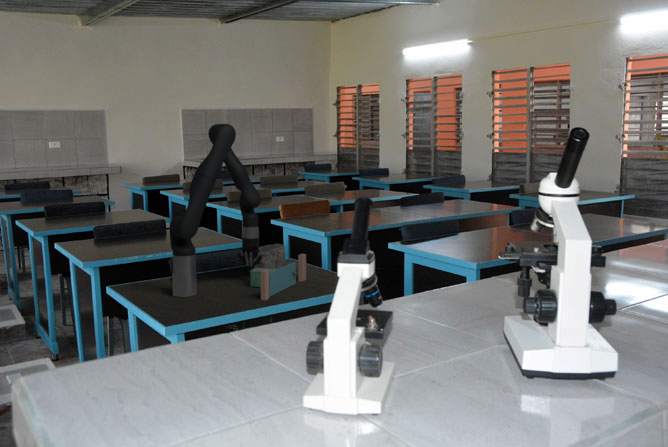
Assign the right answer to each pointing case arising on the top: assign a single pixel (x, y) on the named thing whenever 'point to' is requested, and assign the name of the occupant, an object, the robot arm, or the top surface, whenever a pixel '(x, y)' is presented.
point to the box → (257, 276)
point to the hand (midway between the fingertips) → (250, 274)
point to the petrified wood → (272, 256)
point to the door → (282, 278)
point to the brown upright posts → (266, 276)
